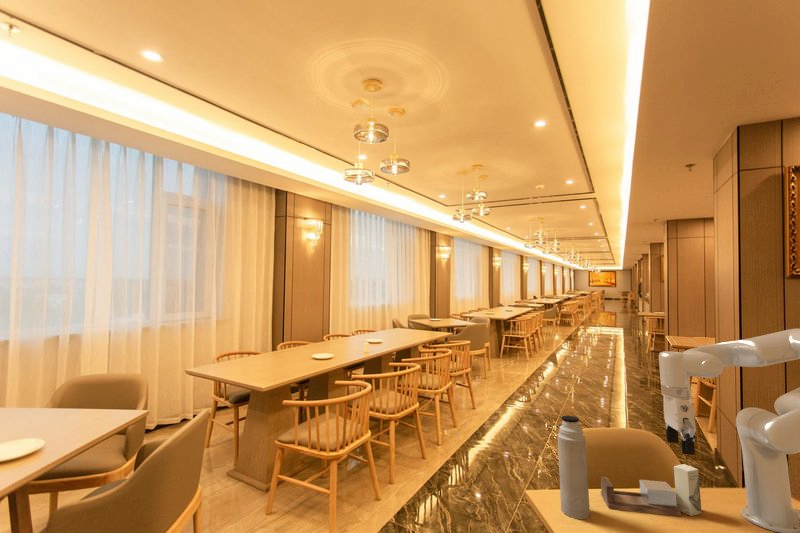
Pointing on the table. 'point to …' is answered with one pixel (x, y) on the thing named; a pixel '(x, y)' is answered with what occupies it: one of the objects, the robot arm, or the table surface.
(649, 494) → the block
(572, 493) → the thermos bottle
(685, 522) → the table surface
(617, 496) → the clamp board
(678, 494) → the box
